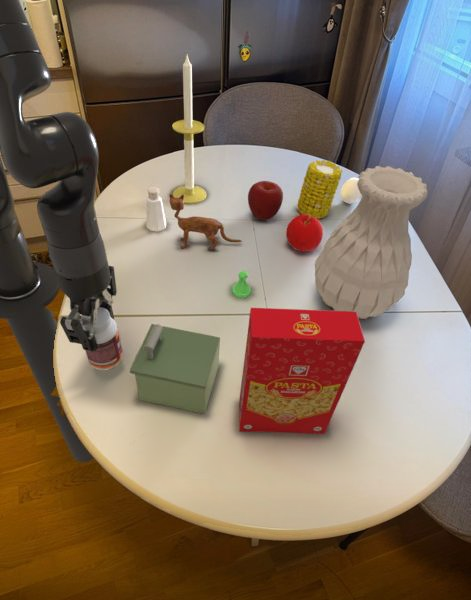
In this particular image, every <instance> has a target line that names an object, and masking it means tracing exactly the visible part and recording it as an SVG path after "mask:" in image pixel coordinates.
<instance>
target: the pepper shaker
mask: <svg viewBox="0 0 471 600" xmlns="http://www.w3.org/2000/svg"><path fill="white" fill-rule="evenodd" d="M147 193H148V194H147V195H148V196H147V199H146V219H145V221H146V225H145V227H146V228H147V229H148V230H149V231H150V232H157V233H158V232H159V233H160V232H161V231H163V230H166V227H167V220H166V214H165V208H164V204H163V199H162V197H161V196H160V189H159V188H158V187H156V186H151V187H149V188H147Z"/></svg>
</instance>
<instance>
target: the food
mask: <svg viewBox="0 0 471 600" xmlns="http://www.w3.org/2000/svg"><path fill="white" fill-rule="evenodd" d="M342 174H343V170H342V168H341V167H340V166H339V165H337V164H336V163H335V162H334V163H333V162H332V161H331V160H326V159H323V160H319V159H317V160H315V161H311V162H310V163H309V164H308V167H307V170H306V173H305V176H304V179H303V183H302V186H301V189H300V193H299V198H298V199H297V205H296V206H297V207H296V210H297V211H298V212H299V214H305V215H310V216H313V217H315V218H317V219H318V220H320V219H324V218H326V217H327V216H328V215H329V212H330V210H331V207H332V203H333V201H334V199H335V197H336V193H337V189H338V186H339V184H340V181H341V178H342Z"/></svg>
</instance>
